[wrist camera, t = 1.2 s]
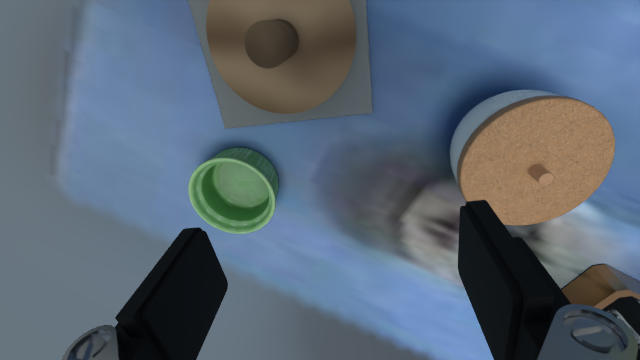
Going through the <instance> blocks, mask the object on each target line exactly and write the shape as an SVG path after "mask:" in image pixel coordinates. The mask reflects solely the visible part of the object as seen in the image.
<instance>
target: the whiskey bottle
mask: <svg viewBox="0 0 640 360" xmlns="http://www.w3.org/2000/svg"><path fill="white" fill-rule="evenodd" d="M561 291H562V292H563V293H564V295H565V296H566V297H567V299H568V300H569V301H570V303H571V304H581V305H588V306H592V307H595V308H598V309H601V310H603V311H605V312H607V313H609V314H611V315H613V316H615V317H616V318H617V319H619V320H620V321H622V322H623V323H624V324H625V325H626V326H627V327H628V328H629V329H630V330H631V331H632V333H633V334H634V336H635V338H636V340H637V345H638V348H639V349H640V282H639V281H637V280H635V279H633V278H631V277H629V276H627V275H625V274H623V273H621V272H619V271H617V270H615V269H613V268H611V267H609V266H607V265H605V264H603V265H597V266H592V267H591V268H590V269H588V270H587V271H586V272H584V273H583V274H582V275H580V276H579V277H578V278H577V279H575V280H574V281H573V282H571V283H570V284H569V285H567V286H566V287H565V288H563V289H562V290H561Z"/></svg>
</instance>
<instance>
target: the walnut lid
mask: <svg viewBox="0 0 640 360" xmlns="http://www.w3.org/2000/svg"><path fill="white" fill-rule="evenodd" d="M206 31H207V40H208V45H209V49H210V53H211V56H212V59H213V61H214V63H215V65H216V68H217V70H218V71H219V73H220V75H221V76H222V78H223V79H224V81H225V82H226V83H227V84H228V86H229V87H230V88H231V89H232V90H233V91H234V92H235V93H236V94H237V95H238V96H240V97H241V98H242V99H243V100H245V101H246V102H248V103H249V104H251V105H253V106H255V107H257V108H259V109H262V110H265V111H268V112H273V113H280V114H294V113H299V112H304V111H307V110H310V109H312V108H314V107H316V106H318V105H320V104H321V103H323V102H324V101H326V100H327V99H328V98H329V97H331V96H332V95H333V94H334V93H335V92H336V90H337V89H338V88H339V87H340V86H341V84H342V83H343V81H344V80H345V78H346V76H347V74H348V72H349V70H350V67H351V64H352V61H353V57H354V53H355V45H356V26H355V18H354V14H353V10H352V7H351V4H350V1H349V0H210V1H209V5H208V10H207V17H206Z"/></svg>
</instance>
